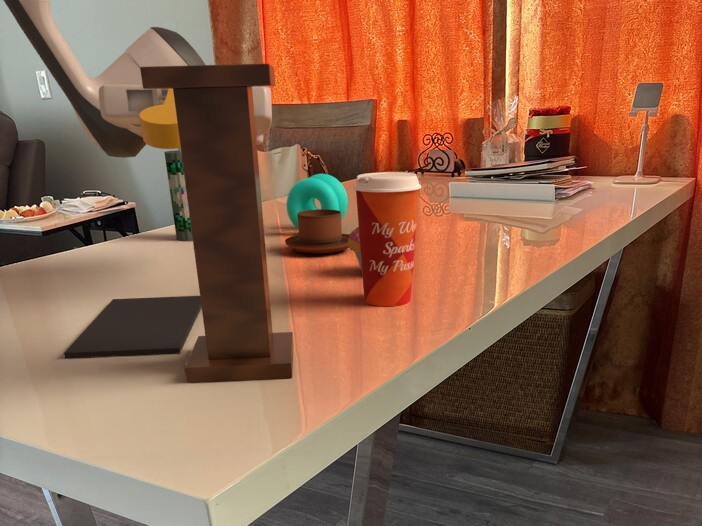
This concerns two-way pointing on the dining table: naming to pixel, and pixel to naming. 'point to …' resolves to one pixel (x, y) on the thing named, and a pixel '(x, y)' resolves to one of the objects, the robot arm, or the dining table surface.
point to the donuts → (316, 196)
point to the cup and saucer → (319, 232)
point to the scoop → (161, 124)
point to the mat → (138, 327)
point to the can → (178, 195)
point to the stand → (226, 220)
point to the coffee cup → (387, 235)
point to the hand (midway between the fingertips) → (179, 90)
